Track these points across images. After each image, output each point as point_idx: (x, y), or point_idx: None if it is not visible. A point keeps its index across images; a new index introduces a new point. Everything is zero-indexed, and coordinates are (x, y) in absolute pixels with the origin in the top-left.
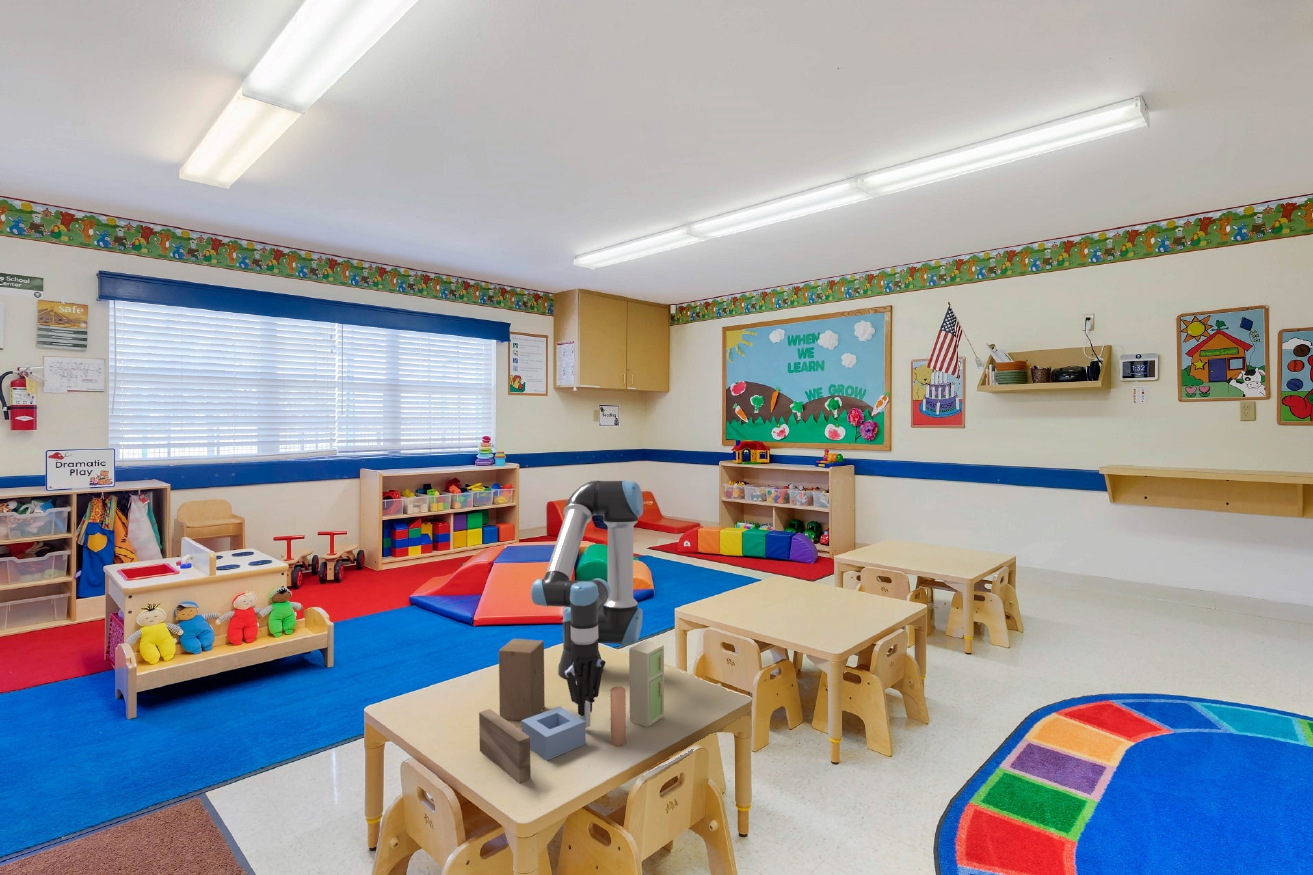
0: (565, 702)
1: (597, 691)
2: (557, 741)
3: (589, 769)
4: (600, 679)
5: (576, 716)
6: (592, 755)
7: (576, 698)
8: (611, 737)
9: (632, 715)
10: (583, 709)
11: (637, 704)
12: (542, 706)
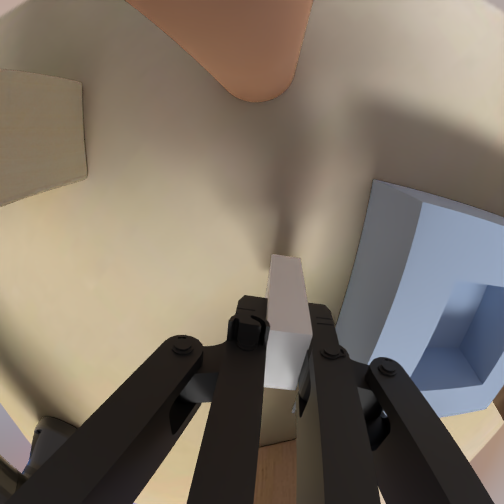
0: (186, 428)
1: (162, 365)
2: None
3: (475, 52)
4: (78, 439)
5: (396, 298)
6: (418, 91)
7: (413, 394)
8: (294, 72)
9: (69, 165)
10: (314, 324)
11: (23, 137)
12: (264, 452)
